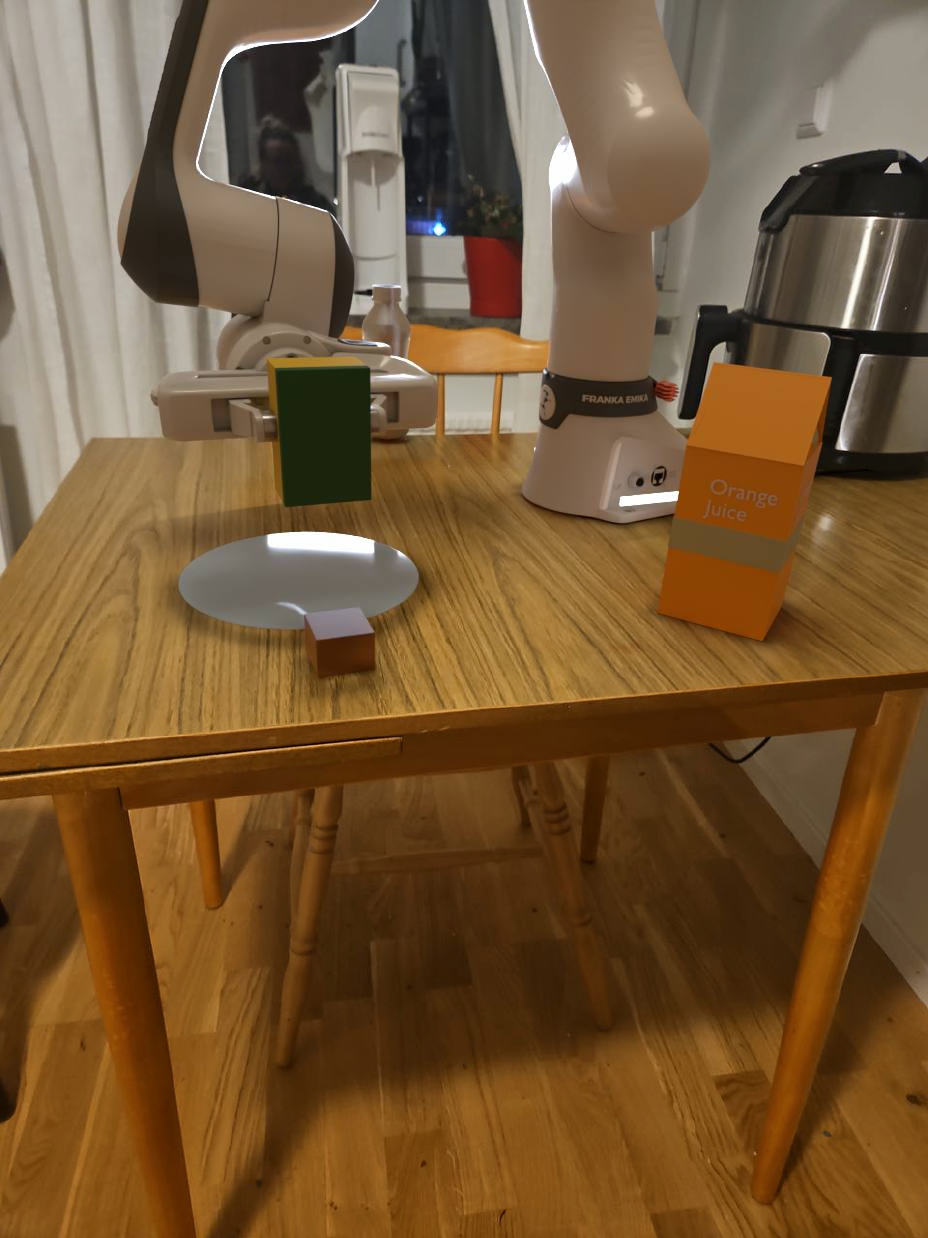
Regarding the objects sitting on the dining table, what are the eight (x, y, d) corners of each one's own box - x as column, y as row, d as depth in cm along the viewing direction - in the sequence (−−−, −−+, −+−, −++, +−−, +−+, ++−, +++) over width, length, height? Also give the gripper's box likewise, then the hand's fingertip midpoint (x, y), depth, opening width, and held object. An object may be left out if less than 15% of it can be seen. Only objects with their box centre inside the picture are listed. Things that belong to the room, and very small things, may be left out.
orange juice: (683, 582, 74) (725, 355, 65) (782, 607, 70) (842, 370, 61) (655, 613, 68) (698, 368, 59) (762, 642, 64) (825, 385, 55)
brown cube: (360, 655, 59) (359, 607, 58) (375, 683, 56) (375, 632, 54) (306, 663, 58) (303, 613, 56) (318, 692, 55) (316, 640, 53)
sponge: (357, 482, 60) (354, 356, 56) (371, 500, 56) (370, 367, 52) (275, 488, 58) (266, 358, 53) (285, 507, 54) (276, 369, 50)
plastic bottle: (403, 446, 111) (405, 289, 102) (356, 441, 112) (354, 285, 103) (415, 434, 117) (418, 285, 108) (370, 430, 118) (369, 282, 109)
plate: (382, 535, 81) (382, 524, 81) (451, 624, 65) (452, 610, 64) (171, 555, 74) (170, 542, 74) (189, 659, 58) (188, 645, 57)
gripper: (143, 347, 60) (151, 384, 49) (405, 342, 67) (466, 374, 56) (154, 431, 63) (165, 484, 52) (404, 418, 70) (462, 463, 59)
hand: (323, 427), depth 54 cm, fingers closed on sponge, 6 cm apart
